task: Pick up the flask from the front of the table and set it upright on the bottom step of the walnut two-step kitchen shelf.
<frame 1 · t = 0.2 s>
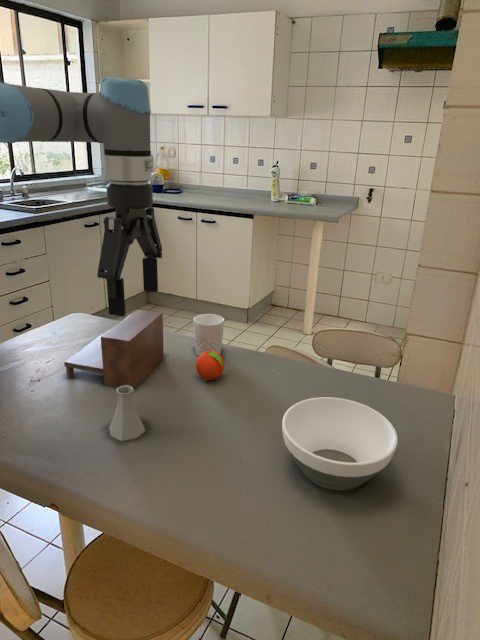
hand: (135, 302, 85), 26 cm above the table, tool pointing down, fingers open, 13 cm apart
white cup: (208, 353, 126), on the table
clementine: (211, 379, 113), on the table
bowl: (332, 472, 84), on the table
flask: (127, 434, 91), on the table
shelf: (119, 369, 115), on the table
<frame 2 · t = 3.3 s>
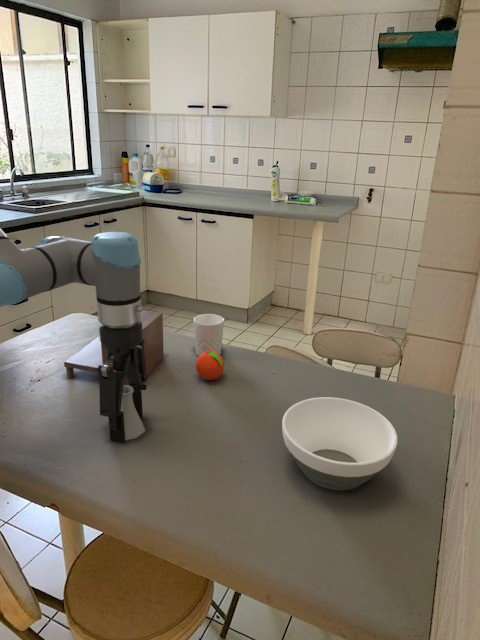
hand: (127, 429, 91), 1 cm above the table, tool pointing down, fingers closed on flask, 7 cm apart
flask: (127, 434, 91), on the table, touching gripper
everything else where it was.
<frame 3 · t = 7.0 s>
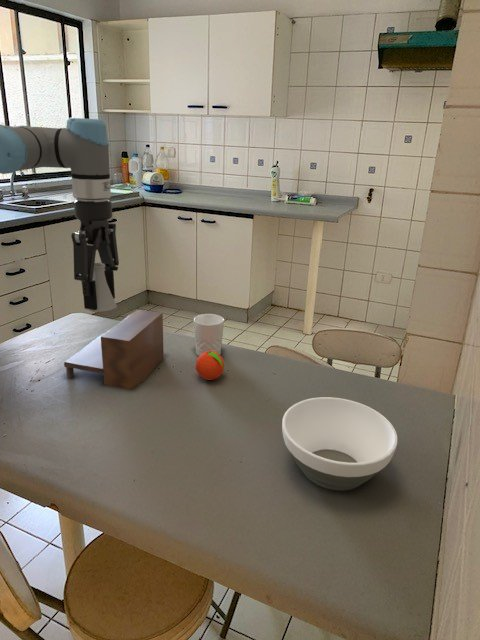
hand: (100, 302, 105), 19 cm above the table, tool pointing down, fingers closed on flask, 7 cm apart
flask: (100, 308, 105), point 18 cm above the table, touching gripper
everything else where it was.
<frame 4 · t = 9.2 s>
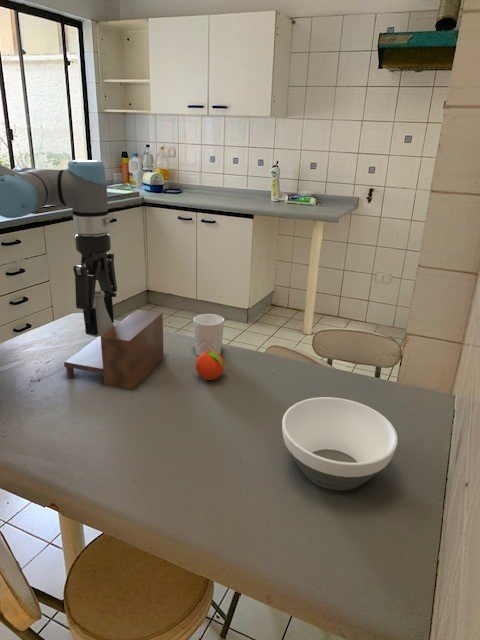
hand: (100, 327, 112), 11 cm above the table, tool pointing down, fingers closed on flask, 7 cm apart
flask: (100, 332, 112), point 9 cm above the table, touching gripper
everything else where it was.
when the fingers open (6 cm above the table, at t = 10.8 s): flask stays where it is, resting on shelf.
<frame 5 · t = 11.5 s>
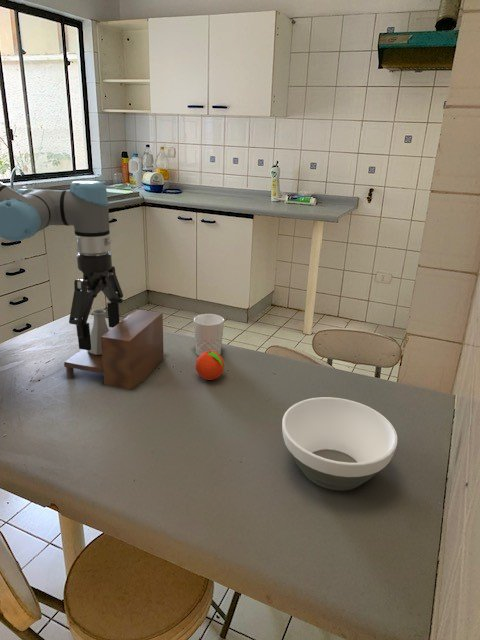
hand: (100, 337, 113), 8 cm above the table, tool pointing down, fingers open, 13 cm apart
flask: (102, 349, 114), point 5 cm above the table, touching shelf
everything else where it was.
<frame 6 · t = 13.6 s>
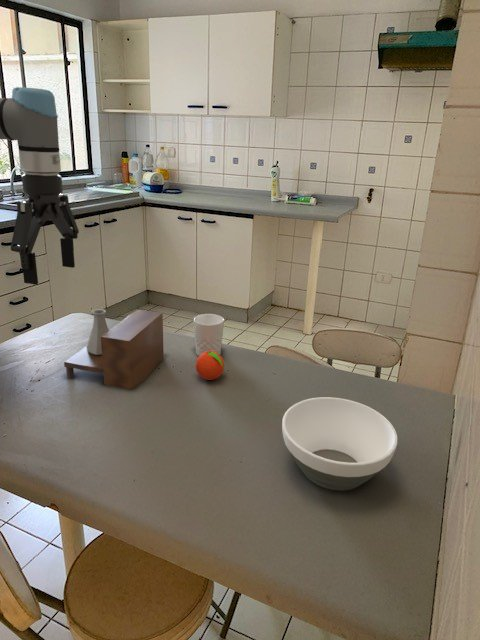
hand: (51, 274, 101), 25 cm above the table, tool pointing down, fingers open, 13 cm apart
nothing on the table moved.
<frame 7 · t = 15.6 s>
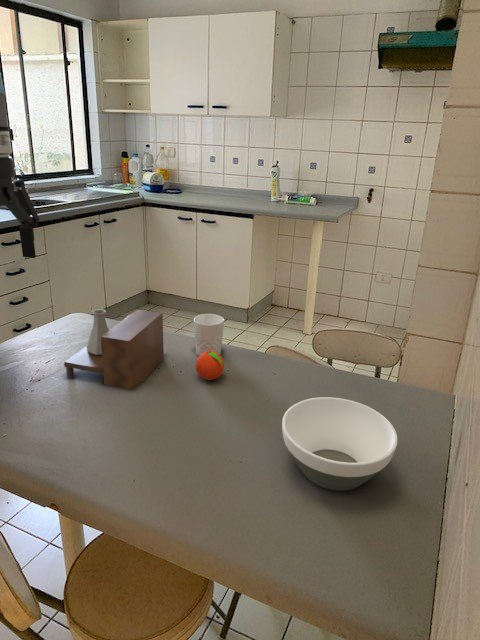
hand: (7, 265, 95), 29 cm above the table, tool pointing down, fingers open, 13 cm apart
nothing on the table moved.
at the end: flask inside the target area on the shelf (0.4 cm from its centre), point 4.8 cm above the shelf's base; flask tilted 0°; the gripper is holding nothing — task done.
